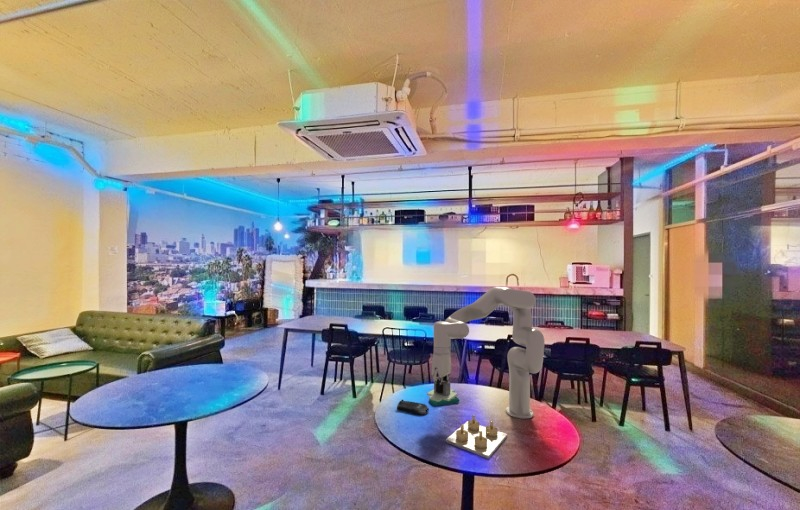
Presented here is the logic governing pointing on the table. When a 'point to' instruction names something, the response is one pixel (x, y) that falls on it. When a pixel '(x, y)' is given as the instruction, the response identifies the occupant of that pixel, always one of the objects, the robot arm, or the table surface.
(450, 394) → the board
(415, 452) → the table surface
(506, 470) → the table surface
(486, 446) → the chassis
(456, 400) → the digital multimeter
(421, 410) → the electronic device
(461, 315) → the robot arm
